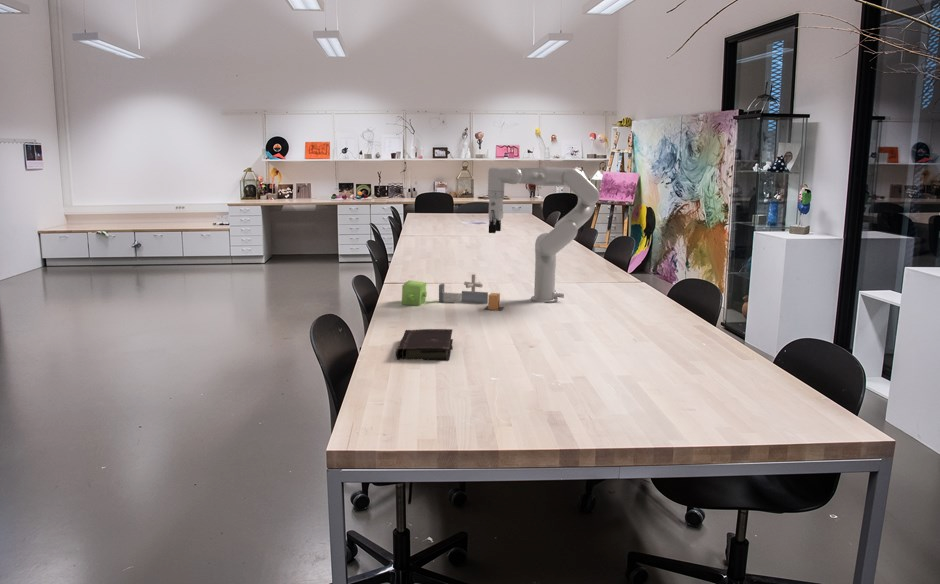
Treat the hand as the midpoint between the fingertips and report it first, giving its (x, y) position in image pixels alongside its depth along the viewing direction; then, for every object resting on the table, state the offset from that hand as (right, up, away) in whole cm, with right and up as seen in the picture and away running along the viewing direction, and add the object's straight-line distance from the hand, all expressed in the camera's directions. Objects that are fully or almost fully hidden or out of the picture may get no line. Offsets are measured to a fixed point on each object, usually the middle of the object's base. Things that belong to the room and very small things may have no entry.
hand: (494, 232), depth 326 cm
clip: (-1, -35, -14) cm, 38 cm away
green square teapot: (-36, -33, -4) cm, 49 cm away
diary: (-27, -49, -79) cm, 97 cm away
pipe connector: (-10, -29, +17) cm, 35 cm away
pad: (-1, -35, -14) cm, 38 cm away
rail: (-14, -33, -1) cm, 36 cm away
